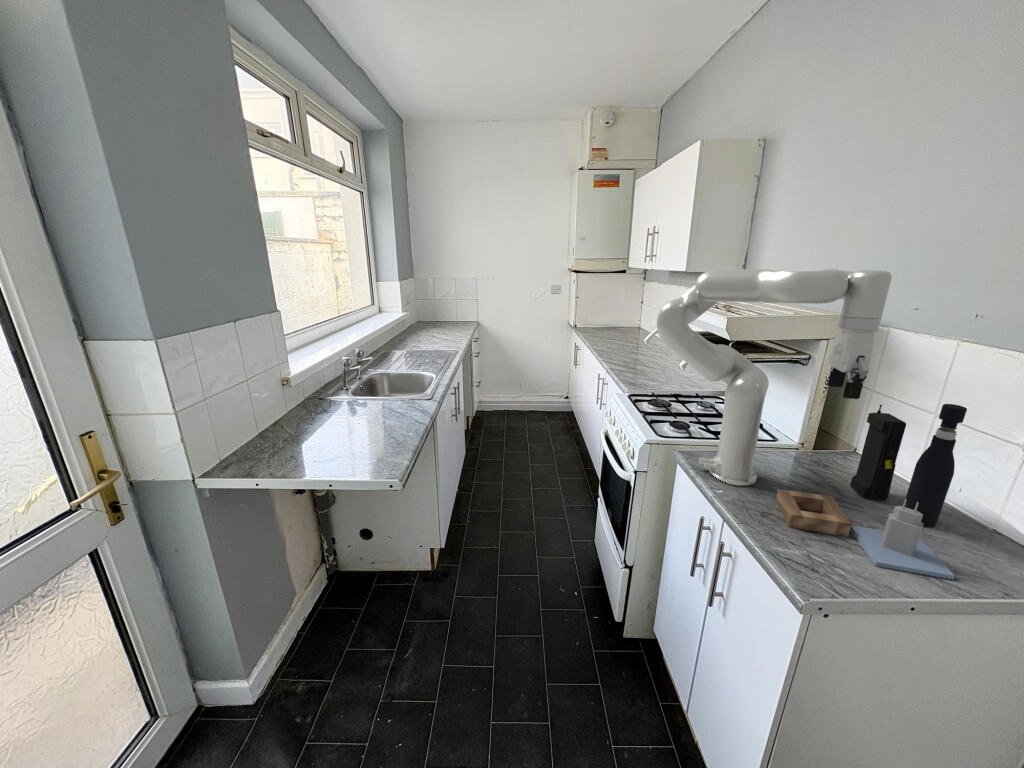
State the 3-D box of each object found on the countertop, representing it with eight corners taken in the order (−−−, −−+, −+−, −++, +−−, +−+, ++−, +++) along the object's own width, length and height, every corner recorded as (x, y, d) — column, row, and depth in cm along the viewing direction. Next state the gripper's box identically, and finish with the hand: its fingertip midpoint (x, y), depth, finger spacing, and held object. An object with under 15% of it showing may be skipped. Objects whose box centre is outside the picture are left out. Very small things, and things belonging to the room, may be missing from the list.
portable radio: (891, 503, 108) (918, 415, 101) (865, 501, 110) (889, 414, 102) (873, 487, 116) (896, 404, 108) (848, 485, 117) (870, 403, 110)
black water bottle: (893, 512, 105) (927, 402, 96) (917, 511, 105) (953, 401, 96) (918, 528, 99) (956, 412, 90) (943, 527, 99) (984, 411, 90)
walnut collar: (788, 526, 100) (791, 514, 99) (775, 500, 111) (778, 488, 109) (847, 536, 96) (851, 523, 95) (828, 508, 107) (831, 496, 106)
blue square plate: (875, 565, 87) (876, 561, 87) (849, 528, 99) (850, 525, 98) (953, 580, 83) (955, 575, 83) (916, 539, 95) (918, 536, 94)
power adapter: (881, 539, 93) (895, 493, 90) (914, 550, 90) (930, 503, 86) (880, 545, 91) (894, 498, 88) (913, 557, 88) (929, 509, 84)
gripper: (826, 318, 107) (813, 381, 112) (855, 329, 91) (838, 401, 96) (861, 319, 104) (846, 383, 109) (897, 330, 89) (877, 405, 94)
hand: (842, 392), depth 103 cm, fingers open, 9 cm apart
